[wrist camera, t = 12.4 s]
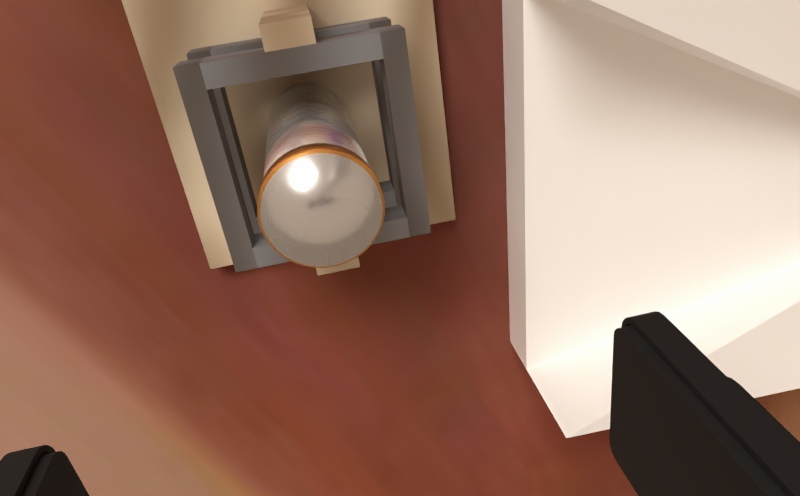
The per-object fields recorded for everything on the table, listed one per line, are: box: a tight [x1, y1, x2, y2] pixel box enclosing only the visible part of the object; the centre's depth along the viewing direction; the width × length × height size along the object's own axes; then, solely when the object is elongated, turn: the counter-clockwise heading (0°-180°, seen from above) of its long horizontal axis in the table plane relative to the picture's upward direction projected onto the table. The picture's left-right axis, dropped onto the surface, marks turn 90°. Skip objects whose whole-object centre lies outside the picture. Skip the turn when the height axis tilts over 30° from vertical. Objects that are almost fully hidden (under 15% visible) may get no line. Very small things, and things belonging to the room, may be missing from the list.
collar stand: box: [122, 0, 456, 275], centre depth 28 cm, size 14×14×7 cm
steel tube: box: [257, 83, 385, 268], centre depth 25 cm, size 4×4×12 cm
